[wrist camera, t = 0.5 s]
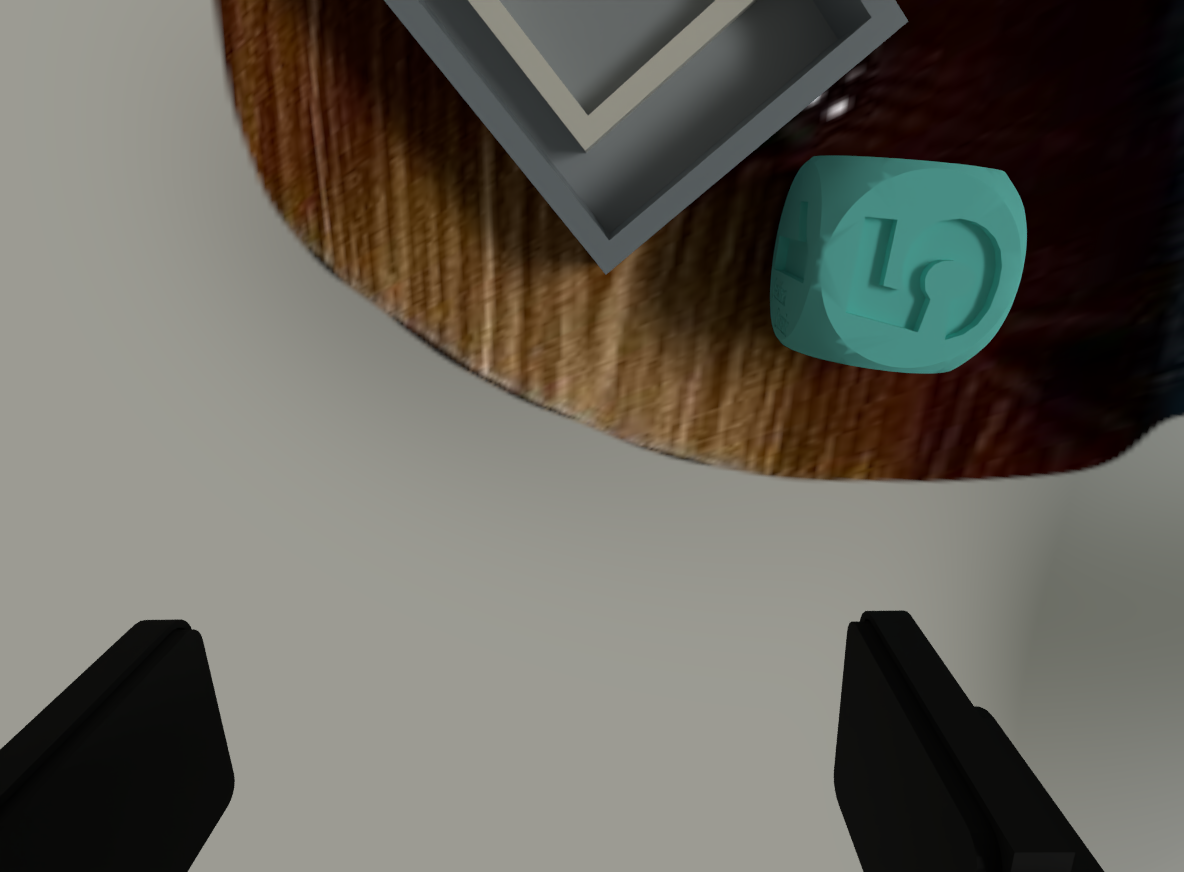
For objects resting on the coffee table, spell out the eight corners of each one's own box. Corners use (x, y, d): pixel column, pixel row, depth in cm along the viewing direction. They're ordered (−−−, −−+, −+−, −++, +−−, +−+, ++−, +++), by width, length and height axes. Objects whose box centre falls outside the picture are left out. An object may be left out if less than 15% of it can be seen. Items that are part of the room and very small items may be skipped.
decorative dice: (788, 158, 35) (838, 151, 27) (957, 175, 35) (1053, 172, 27) (760, 327, 37) (798, 363, 30) (917, 342, 37) (995, 382, 30)
